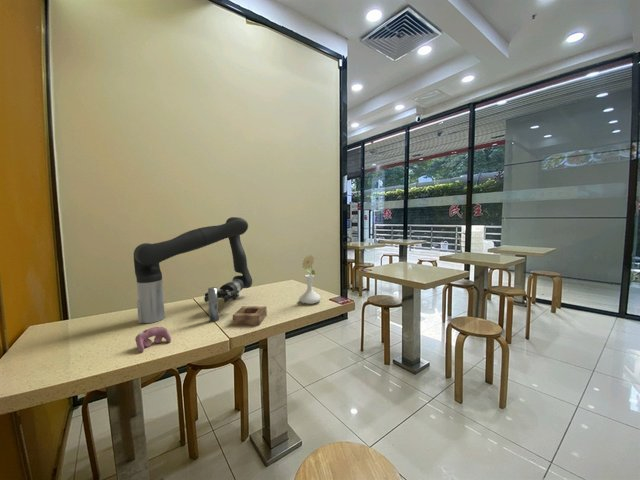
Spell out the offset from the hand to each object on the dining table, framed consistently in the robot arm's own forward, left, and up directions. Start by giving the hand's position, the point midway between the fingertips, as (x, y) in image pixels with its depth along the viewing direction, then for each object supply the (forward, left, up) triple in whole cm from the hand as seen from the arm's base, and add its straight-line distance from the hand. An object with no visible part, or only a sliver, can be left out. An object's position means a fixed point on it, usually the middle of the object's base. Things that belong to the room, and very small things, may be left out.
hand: (215, 299), depth 113 cm
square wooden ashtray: (+13, -9, -8) cm, 18 cm away
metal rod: (-1, -2, -8) cm, 9 cm away
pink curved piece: (-21, -16, -9) cm, 28 cm away
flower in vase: (+45, 0, -9) cm, 46 cm away
